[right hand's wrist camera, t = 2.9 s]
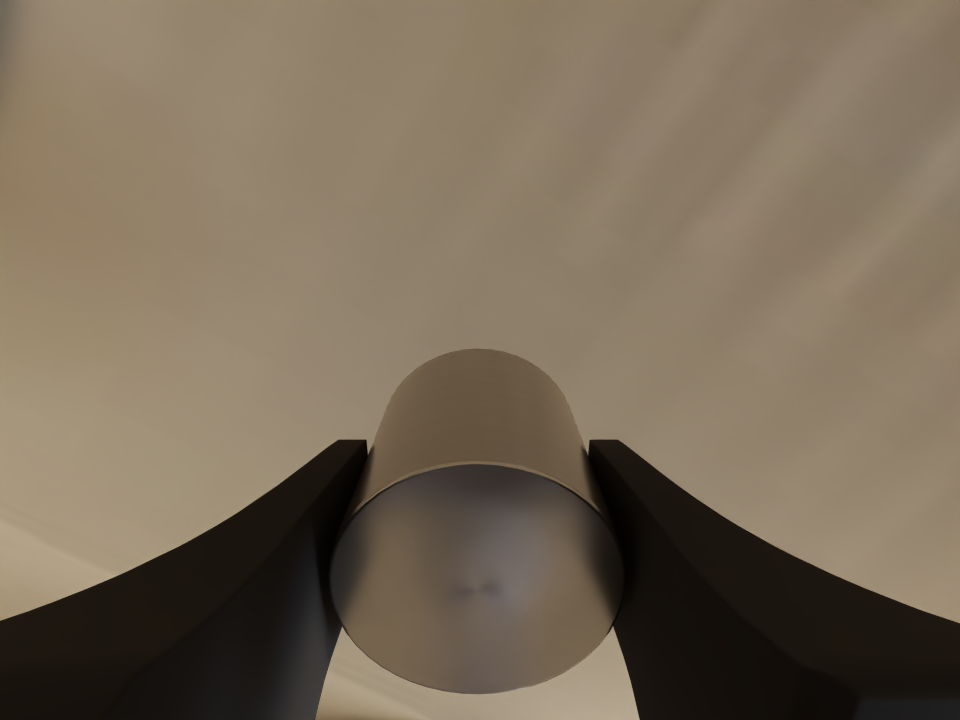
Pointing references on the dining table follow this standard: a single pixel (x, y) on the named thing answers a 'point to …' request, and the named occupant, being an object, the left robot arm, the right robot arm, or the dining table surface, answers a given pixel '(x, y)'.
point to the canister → (477, 532)
